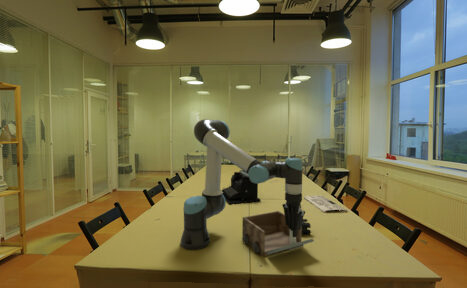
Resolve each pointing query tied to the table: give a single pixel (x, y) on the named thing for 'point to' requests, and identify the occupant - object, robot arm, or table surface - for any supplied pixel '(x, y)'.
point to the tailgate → (290, 246)
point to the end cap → (305, 227)
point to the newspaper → (324, 203)
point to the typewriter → (241, 189)
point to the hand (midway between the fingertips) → (292, 242)
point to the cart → (267, 232)
